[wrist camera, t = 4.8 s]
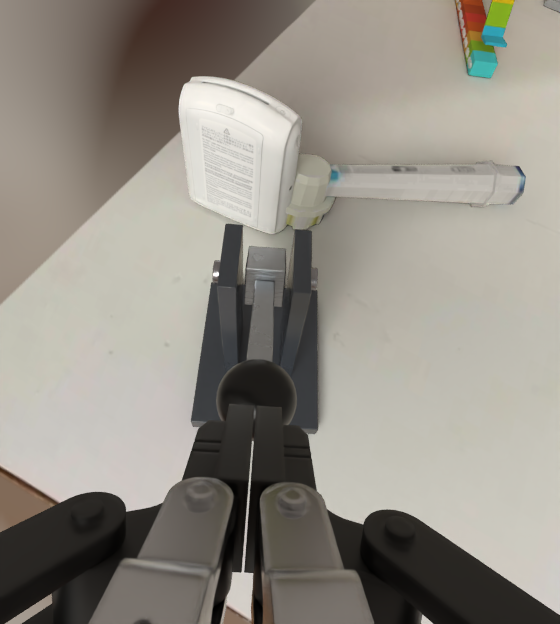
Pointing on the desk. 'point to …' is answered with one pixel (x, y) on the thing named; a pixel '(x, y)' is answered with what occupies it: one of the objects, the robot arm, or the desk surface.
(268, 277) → the lever with ball knob
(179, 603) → the robot arm
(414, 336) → the desk surface
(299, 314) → the dark grey pivot stand
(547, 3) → the office telephone
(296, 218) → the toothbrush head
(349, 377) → the desk surface
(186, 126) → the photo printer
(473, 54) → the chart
